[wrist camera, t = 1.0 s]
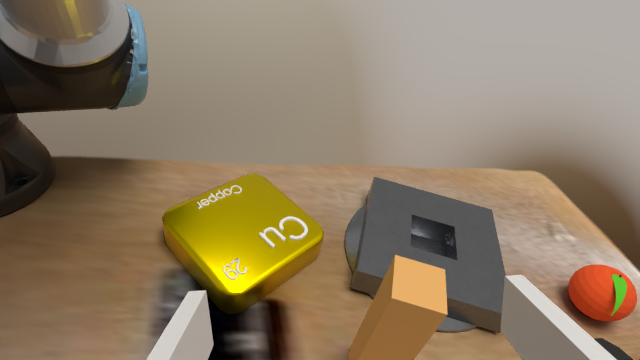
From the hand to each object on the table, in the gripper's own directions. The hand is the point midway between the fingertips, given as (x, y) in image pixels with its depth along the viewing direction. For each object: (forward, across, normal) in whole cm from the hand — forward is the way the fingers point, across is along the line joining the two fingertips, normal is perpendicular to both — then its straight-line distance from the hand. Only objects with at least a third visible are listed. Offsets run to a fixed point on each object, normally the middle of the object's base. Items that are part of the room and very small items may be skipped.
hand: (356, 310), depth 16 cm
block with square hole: (+32, +12, -14) cm, 37 cm away
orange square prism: (+17, +2, -19) cm, 26 cm away
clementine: (+28, +33, -21) cm, 48 cm away
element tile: (+30, -11, -10) cm, 33 cm away
